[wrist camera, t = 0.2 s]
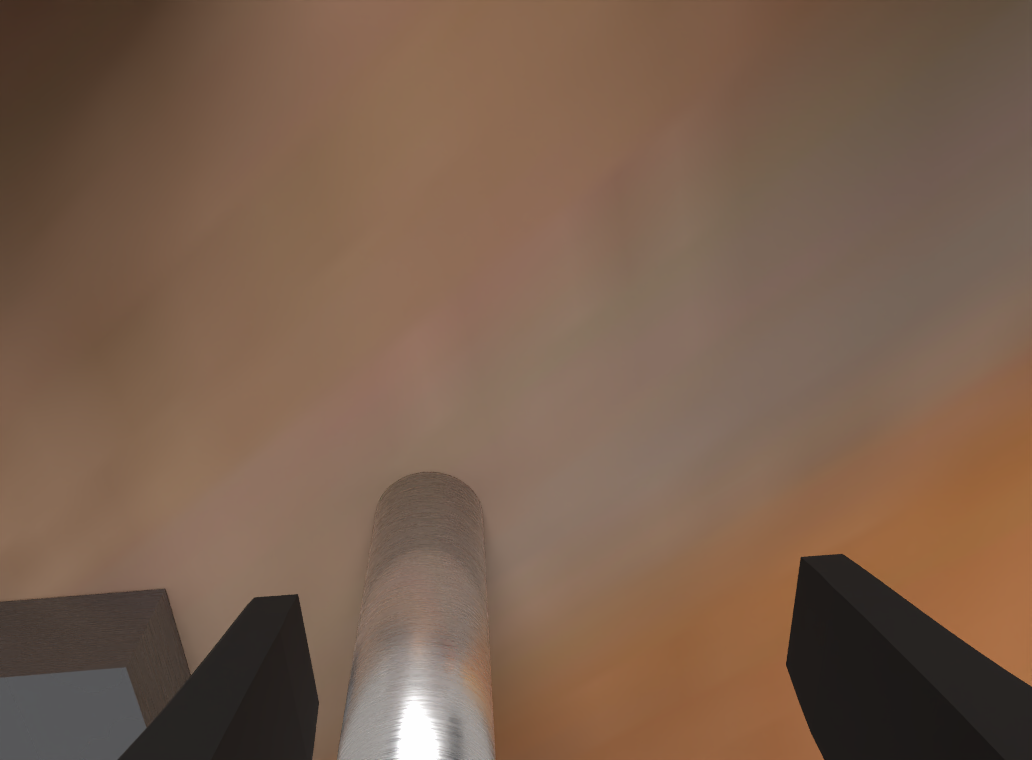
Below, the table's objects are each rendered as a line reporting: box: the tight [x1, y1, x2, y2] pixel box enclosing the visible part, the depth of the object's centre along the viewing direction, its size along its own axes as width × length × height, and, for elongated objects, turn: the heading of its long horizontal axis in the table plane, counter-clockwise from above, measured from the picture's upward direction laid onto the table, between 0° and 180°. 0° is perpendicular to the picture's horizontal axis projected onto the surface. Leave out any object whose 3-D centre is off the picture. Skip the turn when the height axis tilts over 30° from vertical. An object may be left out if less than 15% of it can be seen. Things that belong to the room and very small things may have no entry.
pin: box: [337, 472, 496, 760], centre depth 18 cm, size 3×3×10 cm
